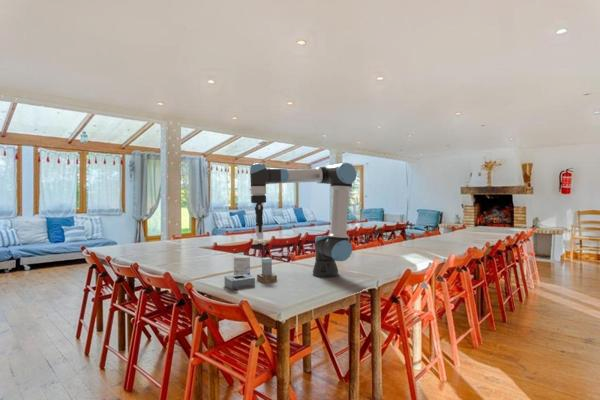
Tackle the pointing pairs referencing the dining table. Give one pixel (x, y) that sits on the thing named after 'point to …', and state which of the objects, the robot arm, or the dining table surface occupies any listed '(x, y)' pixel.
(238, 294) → the dining table surface
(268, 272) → the plug
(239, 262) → the ink box
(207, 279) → the dining table surface
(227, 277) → the block
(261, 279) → the brown hollow block
